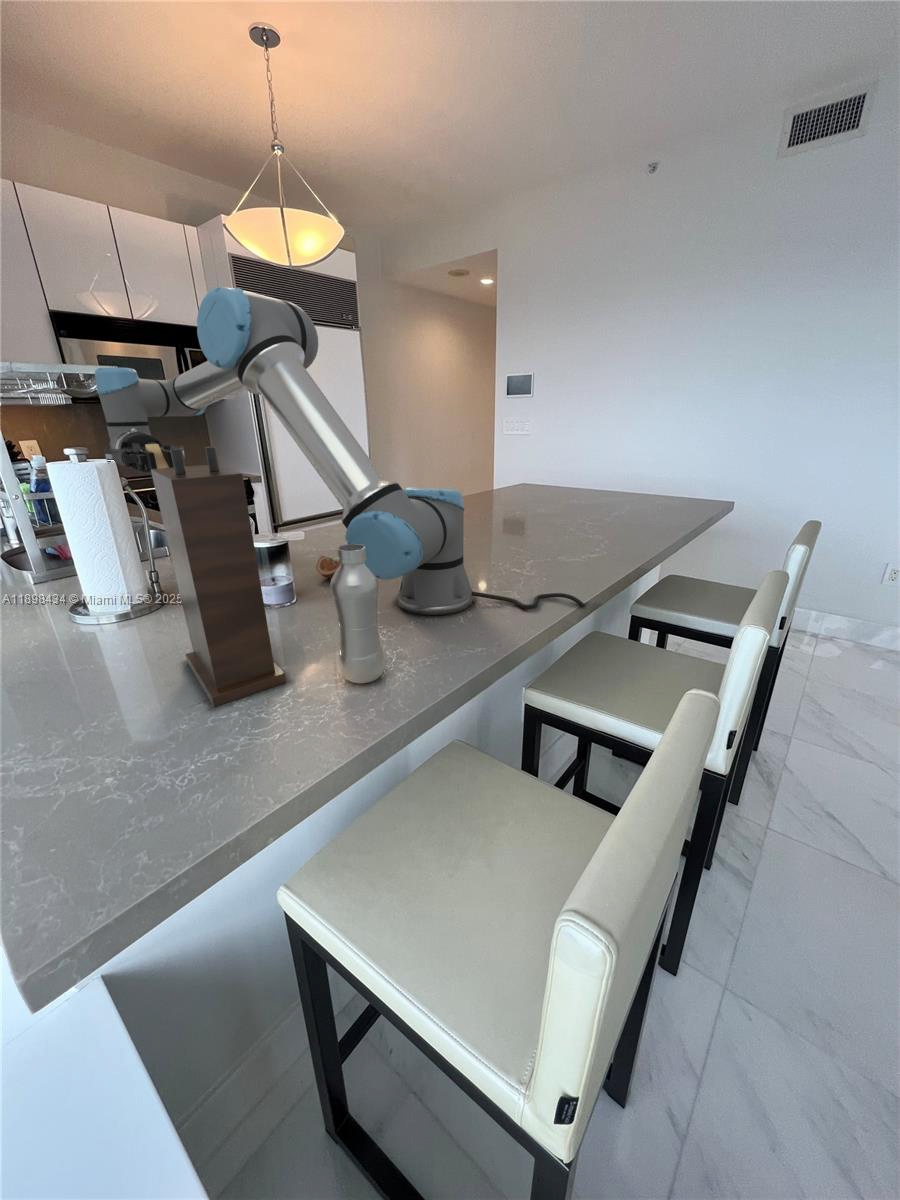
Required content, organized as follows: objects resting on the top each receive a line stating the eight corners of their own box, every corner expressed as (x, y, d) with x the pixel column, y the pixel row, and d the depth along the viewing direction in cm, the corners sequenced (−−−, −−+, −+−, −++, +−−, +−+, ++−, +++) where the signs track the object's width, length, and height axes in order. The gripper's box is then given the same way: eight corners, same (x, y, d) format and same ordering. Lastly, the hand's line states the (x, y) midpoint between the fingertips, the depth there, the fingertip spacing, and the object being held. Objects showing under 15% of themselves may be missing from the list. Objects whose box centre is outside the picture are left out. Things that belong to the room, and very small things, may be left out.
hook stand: (286, 682, 72) (249, 448, 60) (214, 707, 66) (156, 453, 54) (251, 644, 83) (214, 442, 71) (187, 662, 78) (135, 446, 66)
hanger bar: (195, 530, 77) (193, 502, 74) (181, 531, 76) (178, 503, 73) (159, 453, 87) (155, 425, 83) (146, 454, 86) (142, 425, 82)
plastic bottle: (377, 691, 69) (366, 555, 62) (333, 686, 71) (317, 553, 63) (391, 668, 75) (383, 542, 68) (350, 664, 76) (337, 540, 69)
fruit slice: (357, 578, 115) (356, 557, 113) (336, 586, 110) (334, 565, 108) (333, 572, 119) (331, 552, 118) (311, 579, 114) (309, 559, 112)
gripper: (89, 433, 92) (101, 439, 75) (178, 430, 100) (207, 434, 83) (100, 474, 95) (114, 488, 77) (185, 467, 103) (215, 479, 86)
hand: (162, 460), depth 80 cm, fingers closed on hanger bar, 2 cm apart
